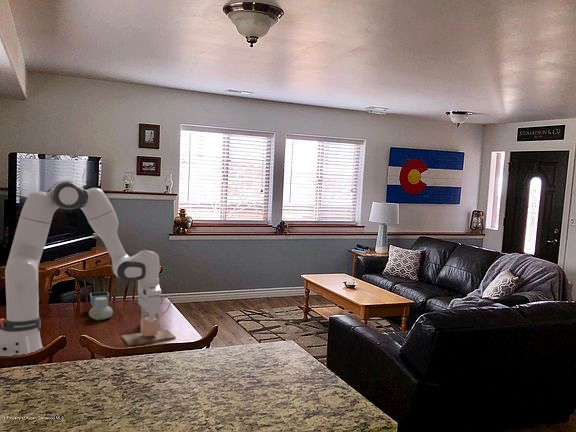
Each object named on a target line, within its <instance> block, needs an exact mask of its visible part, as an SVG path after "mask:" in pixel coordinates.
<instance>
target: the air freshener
mask: <svg viewBox="0 0 576 432" xmlns="http://www.w3.org/2000/svg"><path fill="white" fill-rule="evenodd" d="M113 313H114V311H113V308H112V307H111V306H109V305H108V306H107V298H106V297H98V298H95V299H94V307H93V308H92V307H91V309H90V310H89V311H88V316H89V317H90V318H91V319H93V320H95V321H104V320H106V319H108V318H110V317H111V316H112V315H113Z"/></svg>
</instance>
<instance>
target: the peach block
mask: <svg viewBox="0 0 576 432" xmlns="http://www.w3.org/2000/svg"><path fill="white" fill-rule="evenodd" d="M140 323H141V325H140V333H141V334H142V335H143V336H151V335H157V330H158V325H157V319H156V318H155V317H154V322H152V323H150V322H149V317H144V318H141V317H140Z"/></svg>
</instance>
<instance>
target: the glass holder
mask: <svg viewBox="0 0 576 432" xmlns="http://www.w3.org/2000/svg"><path fill="white" fill-rule="evenodd" d="M166 296H168V297H169V298H170V299H169V305H168V307H167V308H166V310H165V311H163V312H162V313H161V314H160V315H159V313H158V314H155V316H154V317H155V318H156V319H157V326H159V325H160V322H159V320H160V318H161V316H163V315H164V314H165V313H166V312H167V311H168V310H169V308H170V307H171V304H172V298H171V296H170V295H169V294H164V295H163V296H161V299H160V305H161V304H162V303H163V298H164V297H166ZM140 308H141V309H140V312H141V313H140V316H141V317H140V319H141V318H144V317H143V316H142V306H140ZM147 317H149V312H147ZM139 325H140V326H141V322H140V324H139Z"/></svg>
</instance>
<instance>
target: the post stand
mask: <svg viewBox="0 0 576 432" xmlns="http://www.w3.org/2000/svg"><path fill="white" fill-rule="evenodd" d="M121 338H122V339H121V340H123V341H124V342H125V344H126V345H128V346H129V347H131V346H137V345H143V344H151V343H157V342H163V341H170V340H176V338H177V336H176V335H174V334H173V333H172V332H171V331H170V330H169V329H168V328H166V329H165V328H164V329H157V335H151V336H143V335H142V334H141V332H137V333H129V334H122V335H121Z"/></svg>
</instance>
